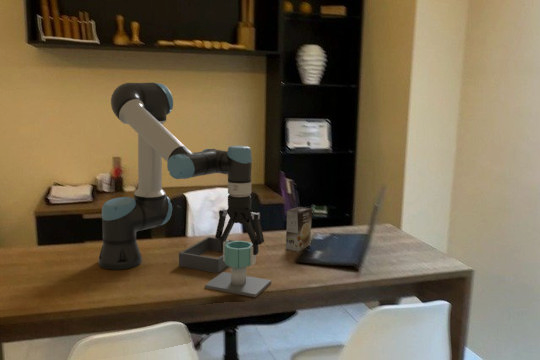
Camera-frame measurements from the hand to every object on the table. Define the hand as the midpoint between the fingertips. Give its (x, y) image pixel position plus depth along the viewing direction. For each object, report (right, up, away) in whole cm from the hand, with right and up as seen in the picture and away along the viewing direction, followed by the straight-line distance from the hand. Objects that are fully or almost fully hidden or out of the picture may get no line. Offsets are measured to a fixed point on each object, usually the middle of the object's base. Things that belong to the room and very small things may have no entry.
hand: (239, 261), depth 174 cm
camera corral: (-11, -3, +25) cm, 28 cm away
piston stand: (0, -8, +2) cm, 8 cm away
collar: (0, 0, 0) cm, 0 cm away
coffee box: (+21, -1, +42) cm, 47 cm away
